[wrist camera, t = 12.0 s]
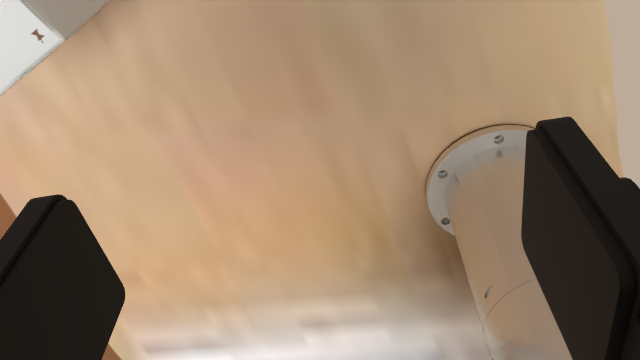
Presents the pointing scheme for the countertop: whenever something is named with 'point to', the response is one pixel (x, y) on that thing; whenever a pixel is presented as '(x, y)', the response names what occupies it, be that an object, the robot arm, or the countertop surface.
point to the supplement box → (37, 32)
